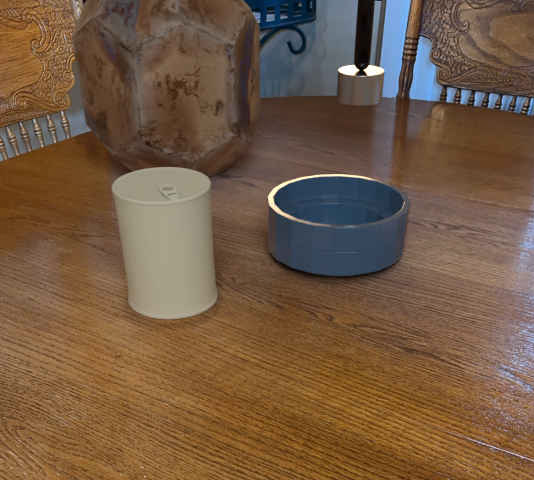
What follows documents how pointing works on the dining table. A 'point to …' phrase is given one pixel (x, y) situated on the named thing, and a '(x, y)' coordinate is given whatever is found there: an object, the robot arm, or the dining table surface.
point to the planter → (170, 80)
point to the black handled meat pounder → (361, 65)
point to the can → (167, 241)
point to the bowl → (337, 224)
